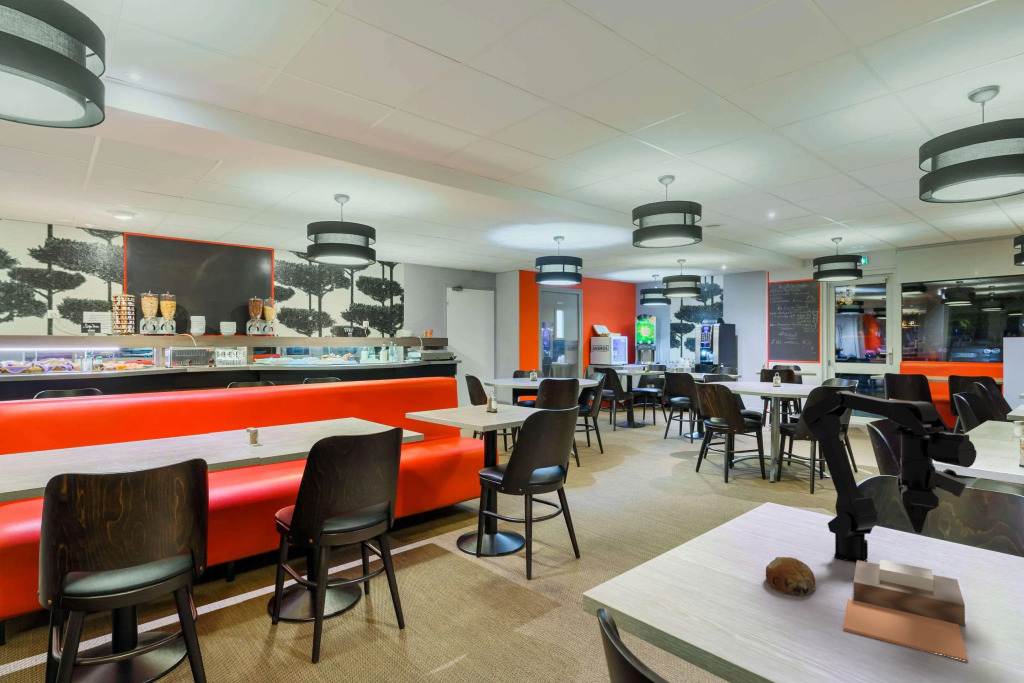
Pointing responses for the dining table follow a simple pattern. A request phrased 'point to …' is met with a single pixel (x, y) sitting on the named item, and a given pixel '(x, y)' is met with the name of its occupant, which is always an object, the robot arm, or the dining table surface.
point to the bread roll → (790, 576)
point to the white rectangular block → (906, 575)
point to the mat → (904, 629)
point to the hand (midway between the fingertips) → (916, 526)
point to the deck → (910, 595)
